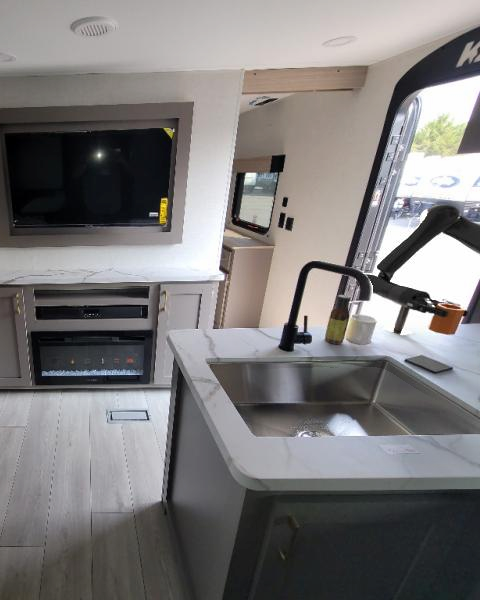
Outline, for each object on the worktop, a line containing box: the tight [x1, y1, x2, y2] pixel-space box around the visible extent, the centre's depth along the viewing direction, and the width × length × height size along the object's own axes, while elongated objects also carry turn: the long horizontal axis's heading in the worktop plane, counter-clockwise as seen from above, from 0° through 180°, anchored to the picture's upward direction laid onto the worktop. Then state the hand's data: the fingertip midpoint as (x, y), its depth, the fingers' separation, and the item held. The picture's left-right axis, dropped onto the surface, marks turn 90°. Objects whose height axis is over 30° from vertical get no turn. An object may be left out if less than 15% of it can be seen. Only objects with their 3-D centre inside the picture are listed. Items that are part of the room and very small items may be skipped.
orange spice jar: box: [427, 303, 466, 336], centre depth 111 cm, size 6×6×9 cm
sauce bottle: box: [324, 294, 351, 345], centre depth 132 cm, size 7×6×20 cm
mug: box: [344, 313, 378, 346], centre depth 132 cm, size 12×8×10 cm
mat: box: [404, 354, 454, 375], centre depth 117 cm, size 9×9×1 cm
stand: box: [382, 305, 413, 336], centre depth 138 cm, size 7×7×13 cm
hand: (456, 314), depth 108 cm, fingers closed on orange spice jar, 6 cm apart
